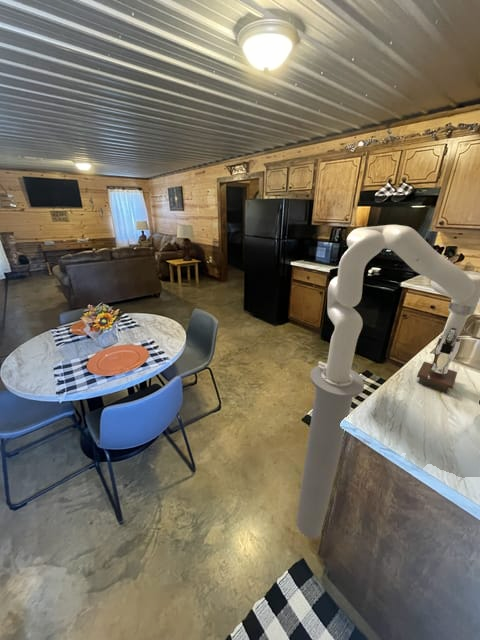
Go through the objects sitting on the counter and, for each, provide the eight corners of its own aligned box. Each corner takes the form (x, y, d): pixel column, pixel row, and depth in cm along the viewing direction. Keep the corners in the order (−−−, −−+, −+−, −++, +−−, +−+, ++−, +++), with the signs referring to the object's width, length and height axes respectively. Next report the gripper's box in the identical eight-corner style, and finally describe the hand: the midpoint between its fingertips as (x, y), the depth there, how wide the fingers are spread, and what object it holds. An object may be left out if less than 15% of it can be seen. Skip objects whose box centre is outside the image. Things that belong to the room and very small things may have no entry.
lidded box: (414, 382, 111) (417, 373, 109) (421, 369, 119) (424, 361, 118) (449, 395, 103) (453, 386, 101) (453, 380, 112) (457, 372, 110)
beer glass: (446, 377, 104) (459, 344, 98) (426, 369, 109) (437, 338, 103) (450, 370, 109) (463, 338, 103) (431, 363, 113) (442, 332, 107)
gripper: (452, 300, 106) (438, 338, 113) (446, 311, 94) (431, 354, 101) (476, 304, 101) (460, 344, 108) (472, 317, 89) (455, 361, 97)
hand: (446, 349), depth 105 cm, fingers closed on beer glass, 7 cm apart
